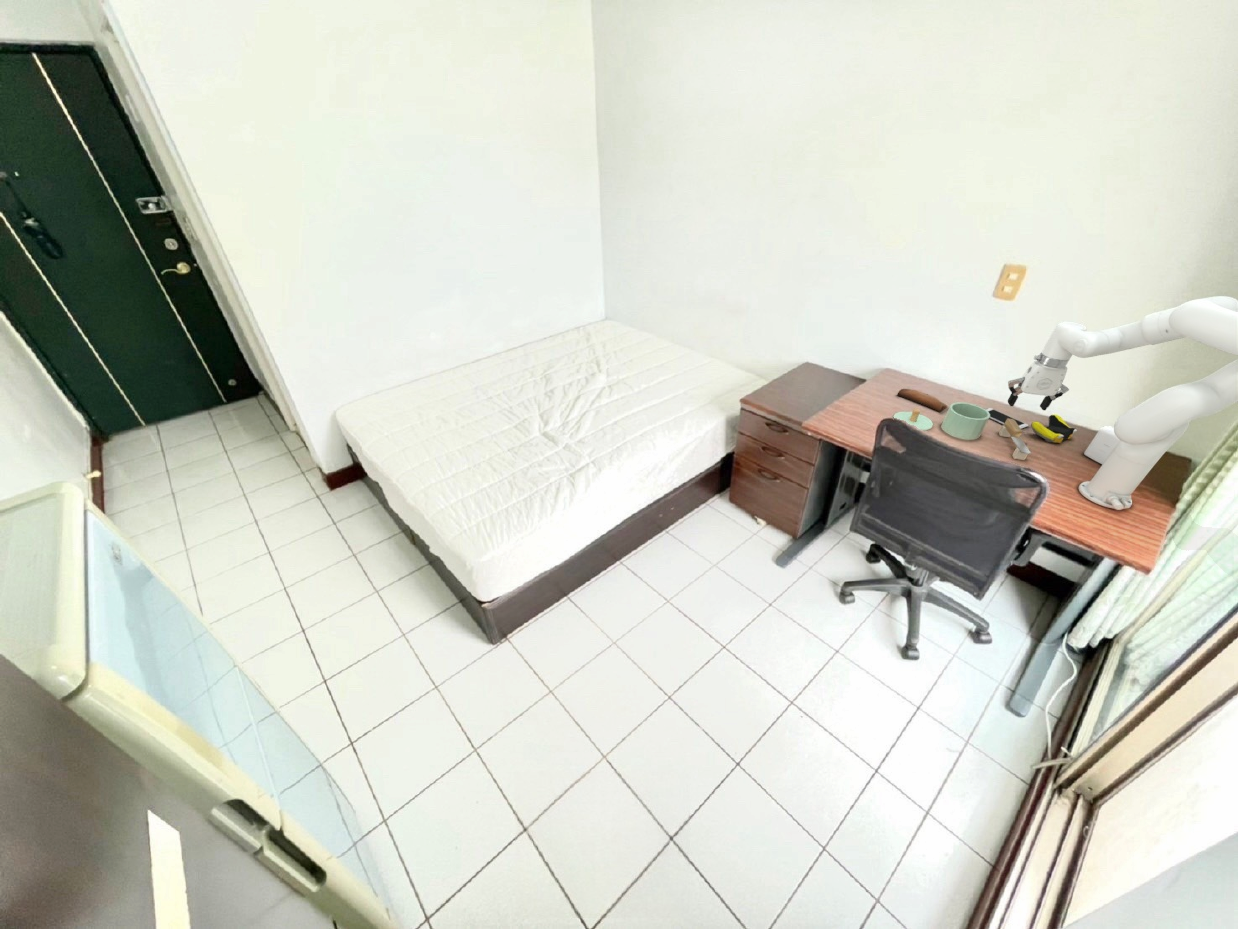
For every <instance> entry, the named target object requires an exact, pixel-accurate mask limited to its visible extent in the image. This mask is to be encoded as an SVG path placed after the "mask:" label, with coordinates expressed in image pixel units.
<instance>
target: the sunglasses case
mask: <svg viewBox="0 0 1238 929" xmlns="http://www.w3.org/2000/svg"><path fill="white" fill-rule="evenodd" d="M897 396H898V397H900V398H903V399H906V400H907V399H908V400H911V401H912V402H915V403H917V404H920V405H923V406H925V407H927V408H931V409H933V410H935V411H937V412H939V413H941V412H943V411H945V410H946V409H947V408H949V407H948V405H947V404H945V403H944V402H943V401H940V399H939V398H937V397H935V396H932V395H930V394H928V393H925V392H922V391H919V390H917V389H911V388H901V389H900V390H899V391H898V392H897Z"/></svg>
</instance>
